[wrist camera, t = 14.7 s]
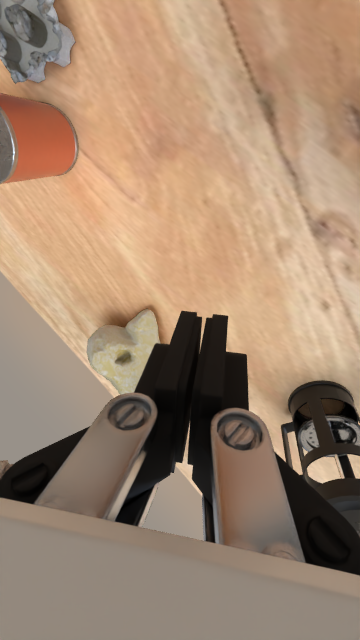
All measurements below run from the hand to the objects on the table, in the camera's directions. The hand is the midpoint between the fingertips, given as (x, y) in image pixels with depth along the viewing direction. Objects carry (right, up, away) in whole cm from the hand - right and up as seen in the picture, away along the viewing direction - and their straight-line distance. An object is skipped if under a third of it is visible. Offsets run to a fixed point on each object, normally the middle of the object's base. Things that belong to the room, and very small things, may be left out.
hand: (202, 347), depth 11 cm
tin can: (-16, +22, +22) cm, 35 cm away
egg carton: (-15, +31, +17) cm, 38 cm away
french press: (+21, -12, +35) cm, 43 cm away
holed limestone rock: (-6, -4, +36) cm, 37 cm away
